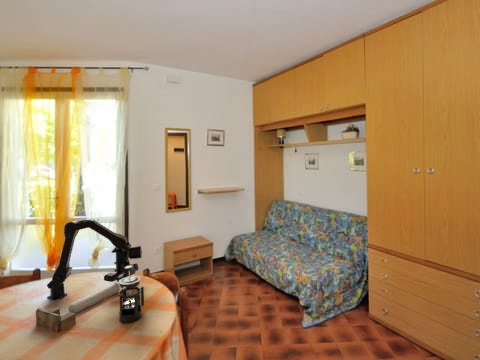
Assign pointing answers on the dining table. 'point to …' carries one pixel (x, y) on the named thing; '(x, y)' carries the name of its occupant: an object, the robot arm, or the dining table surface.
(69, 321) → the socket
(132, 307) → the french press
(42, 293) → the dining table surface
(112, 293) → the tube
